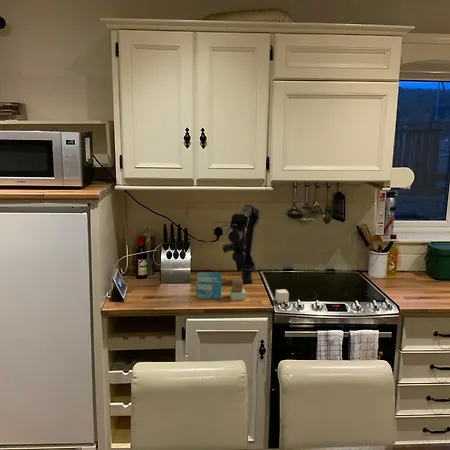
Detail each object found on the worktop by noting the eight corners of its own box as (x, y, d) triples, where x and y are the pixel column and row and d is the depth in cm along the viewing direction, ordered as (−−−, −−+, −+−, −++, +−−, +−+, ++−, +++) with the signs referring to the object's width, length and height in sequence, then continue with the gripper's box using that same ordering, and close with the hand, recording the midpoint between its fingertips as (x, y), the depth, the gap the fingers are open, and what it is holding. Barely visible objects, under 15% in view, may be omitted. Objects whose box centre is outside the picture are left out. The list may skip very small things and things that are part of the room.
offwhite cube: (275, 299, 227) (275, 289, 226) (285, 299, 228) (285, 289, 227) (278, 303, 222) (278, 293, 221) (288, 302, 223) (288, 292, 222)
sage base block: (229, 295, 231) (229, 288, 230) (243, 295, 232) (243, 287, 231) (231, 301, 224) (231, 293, 224) (245, 300, 225) (246, 292, 225)
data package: (196, 298, 226) (196, 274, 224) (196, 295, 230) (197, 272, 228) (220, 299, 226) (221, 275, 223) (221, 296, 230) (221, 272, 228)
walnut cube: (232, 288, 230) (232, 278, 229) (242, 288, 230) (242, 279, 229) (231, 291, 225) (232, 281, 224) (242, 292, 225) (242, 282, 224)
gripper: (224, 233, 242) (224, 262, 245) (222, 242, 224) (221, 273, 227) (246, 234, 242) (245, 263, 245) (245, 242, 223) (244, 274, 226)
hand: (238, 268), depth 236 cm, fingers open, 9 cm apart
